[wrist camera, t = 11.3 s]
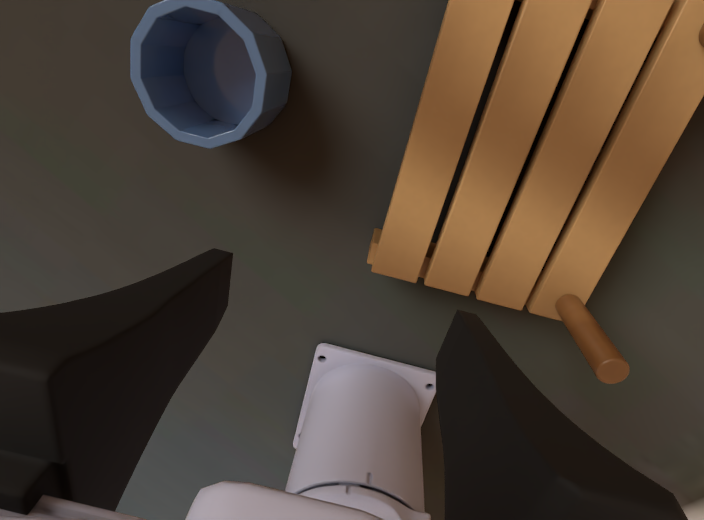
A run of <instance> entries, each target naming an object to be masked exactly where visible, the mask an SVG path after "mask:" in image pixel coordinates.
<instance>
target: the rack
mask: <svg viewBox="0 0 704 520" xmlns="http://www.w3.org/2000/svg"><path fill="white" fill-rule="evenodd" d="M517 1H520V2H522V3H521V5H520V8H519V11H518V14H517V17H516V19H515V22H514V25H513V28H512V31H511V34H510V36H509V39H508V42H507V45H506V48H505V50H504V53H503V56H502V59H501V62H500V65H499V67H498V70H497V73H496V76H495V79H494V81H493V84H492V87H491V90H490V93H489V96H488V98H487V101H486V104H485V107H484V110H483V112H482V115H481V118H480V121H479V124H478V127H477V129H476V132H475V135H474V138H473V141H472V143H471V146H470V149H469V152H468V155H467V158H466V160H465V163H464V166H463V169H462V172H461V174H460V177H459V180H458V183H457V186H456V189H455V191H454V194H453V197H452V200H451V203H450V205H449V208H448V211H447V214H446V217H445V220H444V222H443V225H442V228H441V231H440V234H439V236H438V239H437V242H436V243H432V242H431V239H432V236H433V233H434V230H435V227H436V225H437V222H438V219H439V216H440V213H441V210H442V207H443V204H444V202H445V199H446V196H447V193H448V190H449V187H450V184H451V181H452V179H453V176H454V173H455V170H456V167H457V164H458V161H459V158H460V156H461V153H462V150H463V147H464V144H465V141H466V138H467V135H468V133H469V130H470V127H471V124H472V121H473V118H474V115H475V112H476V110H477V107H478V104H479V101H480V98H481V95H482V92H483V89H484V87H485V84H486V81H487V78H488V75H489V72H490V69H491V66H492V64H493V61H494V58H495V55H496V52H497V49H498V46H499V43H500V41H501V38H502V35H503V32H504V29H505V26H506V23H507V20H508V18H509V15H510V12H511V9H512V6H513V3H514V0H449V1H448V4H447V7H446V11H445V14H444V18H443V21H442V25H441V28H440V32H439V35H438V39H437V42H436V46H435V49H434V53H433V56H432V60H431V63H430V66H429V70H428V73H427V77H426V80H425V84H424V87H423V91H422V94H421V98H420V101H419V105H418V108H417V112H416V115H415V118H414V122H413V125H412V129H411V132H410V136H409V139H408V143H407V146H406V150H405V153H404V157H403V160H402V164H401V167H400V171H399V174H398V177H397V181H396V184H395V188H394V191H393V195H392V198H391V202H390V205H389V209H388V212H387V216H386V219H385V223H384V226H383V230H382V229H378V228H375V229H374V232H373V236H372V240H371V243H370V247H369V253H368V259H367V263H368V264H372V272H374V273H378V274H382V275H386V276H390V277H394V278H397V279H401V280H405V281H409V282H413V283H416V282H417V279H418V277H422V278H424V284H425V285H426V286H429V287H433V288H437V289H441V290H445V291H449V292H452V293H456V294H460V295H464V296H469V294H470V292H471V290H472V291H475V294H476V298H477V299H478V300H482V301H486V302H489V303H493V304H497V305H501V306H505V307H509V308H512V309H516V310H520V311H521V310H522V308H523V306H524V304H526V306H527V308H528V310H529V312H530V313H532V314H536V315H540V316H543V317H547V318H551V319H555V320H559V321H563V323H564V324H565V326H566V328H567V329H568V331H569V332H570V334H571V336H572V337H573V339H574V341H575V342H576V344H577V346H578V347H579V349H580V350H581V352H582V354H583V355H584V357H585V359H586V360H587V362H588V364H589V365H590V367H591V368H592V370H593V372H594V373H595V375H596V377H597V378H598V379H599V380H600V381H602V382H604V383H608V384H614V383H618V382H621V381H622V380H624V379H625V378H626V377H627V376H628V374H629V371H630V368H629V365H628V363H627V362H626V360H625V359H624V358H623V356H622V355H621V354H620V352H619V351H618V350H617V348H616V347H615V345H614V344H613V343H612V341H611V340H610V339H609V337H608V336H607V335H606V333H605V332H604V331H603V329H602V328H601V327H600V325H599V324H598V322H597V321H596V320H595V318H594V317H593V316H592V314H591V313H590V312H589V310H588V309H587V308H586V306H585V304H586V302H587V300H588V299H589V297H590V295H591V293H592V292H593V290H594V288H595V286H596V284H597V283H598V281H599V279H600V277H601V276H602V274H603V272H604V270H605V269H606V267H607V265H608V263H609V262H610V260H611V258H612V256H613V255H614V253H615V251H616V249H617V247H618V246H619V244H620V242H621V240H622V239H623V237H624V235H625V233H626V232H627V230H628V228H629V226H630V225H631V223H632V221H633V219H634V217H635V216H636V214H637V212H638V210H639V209H640V207H641V205H642V203H643V202H644V200H645V198H646V196H647V195H648V193H649V191H650V189H651V188H652V186H653V184H654V182H655V180H656V179H657V177H658V175H659V173H660V172H661V170H662V168H663V166H664V165H665V163H666V161H667V159H668V158H669V156H670V154H671V152H672V150H673V149H674V147H675V145H676V143H677V142H678V140H679V138H680V136H681V135H682V133H683V131H684V129H685V128H686V126H687V124H688V122H689V121H690V119H691V117H692V115H693V113H694V112H695V110H696V108H697V106H698V105H699V103H700V101H701V99H702V98H703V96H704V0H517ZM584 19H589V22H588V25H587V27H586V29H585V32H584V34H583V36H582V39H581V41H580V44H579V46H578V48H577V51H576V53H575V55H574V58H573V60H572V62H571V65H570V67H569V70H568V72H567V74H566V77H565V79H564V81H563V84H562V86H561V88H560V91H559V93H558V96H557V98H556V100H555V103H554V105H553V107H552V110H551V112H550V115H549V117H548V119H547V122H546V124H545V126H544V129H543V131H542V133H541V136H540V138H539V141H538V143H537V145H536V148H535V150H534V152H533V155H532V157H531V159H530V162H529V164H528V167H527V169H526V171H525V174H524V176H523V178H522V181H521V183H520V185H519V188H518V190H517V193H516V195H515V197H514V200H513V202H512V204H511V207H510V209H509V211H508V214H507V216H506V219H505V221H504V223H503V226H502V228H501V230H500V233H499V235H498V237H497V240H496V242H495V245H494V247H493V249H492V252H491V254H490V256H489V257H485V256H486V254H487V251H488V249H489V247H490V244H491V242H492V239H493V237H494V235H495V232H496V230H497V227H498V225H499V223H500V220H501V218H502V215H503V213H504V211H505V208H506V206H507V203H508V201H509V199H510V196H511V194H512V191H513V189H514V187H515V184H516V182H517V180H518V177H519V175H520V172H521V170H522V168H523V165H524V163H525V160H526V158H527V156H528V153H529V151H530V148H531V146H532V144H533V141H534V139H535V136H536V134H537V132H538V129H539V127H540V125H541V122H542V120H543V117H544V115H545V113H546V110H547V108H548V105H549V103H550V101H551V98H552V96H553V93H554V91H555V89H556V86H557V84H558V81H559V79H560V77H561V74H562V72H563V70H564V67H565V65H566V62H567V60H568V58H569V55H570V53H571V50H572V48H573V46H574V43H575V41H576V38H577V36H578V34H579V31H580V29H581V26H582V24H583V22H584ZM656 37H657V40H656V42H655V44H654V46H653V48H652V50H651V52H650V54H649V56H648V58H647V60H646V62H645V64H644V66H643V68H642V70H641V72H640V74H639V76H638V78H637V80H636V83H635V85H634V87H633V89H632V91H631V93H630V95H629V97H628V99H627V101H626V103H625V105H624V107H623V109H622V111H621V113H620V115H619V117H618V119H617V121H616V123H615V125H614V127H613V129H612V131H611V133H610V135H609V137H608V139H607V141H606V143H605V145H604V147H603V149H602V151H601V153H600V155H599V157H598V160H597V162H596V164H595V166H594V168H593V170H592V172H591V174H590V176H589V178H588V180H587V182H586V184H585V186H584V188H583V190H582V192H581V194H580V196H579V198H578V200H577V202H576V204H575V206H574V208H573V210H572V212H571V214H570V216H569V218H568V220H567V222H566V224H565V226H564V228H563V230H562V232H561V234H560V237H559V239H558V241H557V243H556V245H555V247H554V249H553V251H552V253H551V255H550V257H549V259H548V261H547V263H546V265H545V267H544V269H543V271H541V270H542V268H543V266H544V264H545V262H546V260H547V258H548V255H549V253H550V251H551V249H552V247H553V245H554V243H555V241H556V239H557V237H558V235H559V233H560V231H561V229H562V227H563V225H564V223H565V221H566V219H567V217H568V215H569V213H570V211H571V209H572V207H573V205H574V203H575V201H576V199H577V196H578V194H579V192H580V190H581V188H582V186H583V184H584V182H585V180H586V178H587V176H588V174H589V172H590V170H591V168H592V166H593V164H594V162H595V160H596V158H597V156H598V154H599V152H600V150H601V148H602V146H603V144H604V142H605V140H606V138H607V135H608V133H609V131H610V129H611V127H612V125H613V123H614V121H615V119H616V117H617V115H618V113H619V111H620V109H621V107H622V105H623V103H624V101H625V99H626V97H627V95H628V93H629V91H630V89H631V87H632V85H633V83H634V81H635V79H636V76H637V74H638V72H639V70H640V68H641V66H642V64H643V62H644V60H645V58H646V56H647V54H648V52H649V50H650V48H651V46H652V44H653V42H654V40H655V38H656Z"/></svg>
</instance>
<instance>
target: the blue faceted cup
mask: <svg viewBox="0 0 704 520" xmlns="http://www.w3.org/2000/svg"><path fill="white" fill-rule="evenodd" d="M291 75H292V70H291V67H290V64H289V61H288V58H287V54H286V51H285V48H284V45H283V42H282V39H281V37H280V36H279V35H278V34H277V33H276V32H275V31H274V30H273V29H272V28H271V27H270V26H269V25H268V24H267V23H266V22H265V21H264V20H263V19H262V18H261V17H260V16H259V15H258V14H256V13H254V12H251V11H248V10H245V9H241V8H238V7H235V6H232V5H229V4H225V3H222V2H219V1H215V0H164V1H161V2H159V3H156V4H154V5H151V6H150V7H149V8H148V10H147V11H146V13H145V15H144V17H143V18H142V20H141V22H140V23H139V25H138V27H137V28H136V30H135V32H134V34H133V35H132V37H131V75H130V77H131V81H132V83H133V85H134V87H135V89H136V91H137V93H138V96H139V98H140V100H141V102H142V104H143V106H144V109H145V111H146V113H147V115H148V116H149V117H150V118H151V119H153V120H154V121H155V122H156V123H157V124H158V125H159V126H161V127H162V128H163V129H164V130H165V131H166V132H167V133H169V134H170V135H171V136H172V137H173V138H174V139H175V140H177V141H181V142H185V143H189V144H192V145H196V146H200V147H204V148H208V149H212V148H215V147H219V146H222V145H225V144H228V143H231V142H235V141H238V140H241V139H243V138H245V137H247V136H249V135H251V134H253V133H255V132H257V131H259V130H261V129H263V128H265V127H267V126H268V125H270V124H271V122H272V121H273V120H274V119H275V117H276V116H277V115H278V114H279V113H280V111H281V110H282V109H283V108H284V106H285V105H286V104H287V100H288V94H289V87H290V81H291Z"/></svg>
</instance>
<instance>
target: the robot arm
mask: <svg viewBox="0 0 704 520" xmlns="http://www.w3.org/2000/svg"><path fill="white" fill-rule="evenodd" d="M232 258H233V253H230V252H226V251H222V250H218V249H211V250H209V251H207V252H204V253H202V254H200V255H198V256H196V257H194V258H192V259H190V260H188V261H186V262H184V263H181V264H179V265H177V266H175V267H173V268H171V269H168V270H166V271H164V272H162V273H159V274H157V275H154V276H152V277H149V278H147V279H144V280H142V281H139V282H137V283H134V284H132V285H129V286H126V287H123V288H120V289H117V290H113V291H110V292H107V293H103V294H100V295H96V296H92V297H88V298H84V299H79V300H75V301H71V302H67V303H62V304H57V305H52V306H46V307H40V308H34V309H27V310H21V311H13V312H5V313H0V520H147V519H143V518H139V517H135V516H130V515H126V514H122V513H118V512H115V510H116V508H117V505H118V503H119V501H120V499H121V497H122V494H123V492H124V490H125V488H126V486H127V484H128V482H129V480H130V478H131V476H132V474H133V472H134V469H135V467H136V465H137V463H138V461H139V459H140V457H141V455H142V453H143V451H144V449H145V447H146V445H147V443H148V441H149V439H150V437H151V435H152V433H153V431H154V429H155V427H156V425H157V424H158V422H159V420H160V418H161V416H162V414H163V412H164V410H165V408H166V407H167V405H168V403H169V401H170V399H171V397H172V396H173V394H174V392H175V391H176V389H177V388H178V386H179V384H180V383H181V381H182V380H183V379H184V377H185V376H186V374H187V373H188V371H189V370H190V368H191V367H192V365H193V364H194V362H195V361H196V359H197V358H198V356H199V355H200V353H201V352H202V350H203V349H204V348H205V346H206V345H207V343H208V342H209V340H210V339H211V337H212V335H213V334H214V332H215V331H216V329H217V327H218V325H219V323H220V321H221V319H222V317H223V314H224V312H225V310H226V308H227V306H228V297H229V287H230V277H231V267H232ZM320 356H324V357H325V358H320ZM427 384H432V386H428V385H427ZM435 393H436V394H437V403H438V411H439V419H440V427H441V436H442V444H443V452H444V465H445V520H688V519H687V517H686V515H685V514H684V512H683V510H682V508H681V507H680V505H679V503H678V501H677V500H676V498H675V496H674V495H673V493H671V492H669V491H668V490H666V489H665V488H663V487H662V486H660V485H658V484H657V483H655V482H654V481H652V480H651V479H649V478H648V477H646V476H644V475H643V474H641V473H640V472H638V471H637V470H635V469H634V468H632V467H631V466H629V465H628V464H626V463H625V462H623V461H622V460H621V459H619V458H618V457H616V456H615V455H614V454H612V453H611V452H610V451H608V450H607V449H605V448H604V447H603V446H601V445H600V444H599V443H598V442H596V441H595V440H594V439H592V438H591V437H590V436H589V435H587V434H586V433H585V432H584V431H583V430H581V429H580V428H579V427H578V426H577V425H575V424H574V423H573V422H572V421H571V420H569V419H568V418H567V417H566V416H565V415H564V414H563V413H562V412H560V411H559V410H558V409H557V408H556V407H555V406H554V405H553V404H552V403H551V402H550V401H549V400H548V399H547V398H546V397H545V396H544V395H543V394H542V393H541V392H540V391H539V390H538V389H537V388H536V387H535V386H534V385H533V384H532V383H531V381H530V380H529V379H528V378H527V377H526V376H525V375H524V374H523V372H522V371H521V370H520V369H519V368H518V367H517V365H516V364H515V363H514V362H513V361H512V359H511V358H510V357H509V356H508V354H507V353H506V352H505V351H504V349H503V348H502V347H501V346H500V344H499V343H498V342H497V340H496V339H495V338H494V336H493V335H492V334H491V332H490V331H489V330H488V329H487V327H486V326H485V325H484V323H483V322H482V321H481V320H480V318H479V317H478V316H477V315H476V314H472V313H468V312H464V311H460V310H457V312H456V314H455V316H454V319H453V321H452V323H451V326H450V328H449V330H448V332H447V335H446V337H445V339H444V342H443V344H442V346H441V349H440V351H439V353H438V355H437V358H436V372H435V371H431V370H427V369H423V368H420V367H416V366H412V365H408V364H404V363H400V362H397V361H393V360H389V359H385V358H381V357H377V356H373V355H370V354H366V353H362V352H358V351H354V350H350V349H346V348H343V347H339V346H335V345H331V344H327V343H321V344H319V345H318V346H317V348H316V352H315V356H314V360H313V364H312V368H311V372H310V376H309V381H308V385H307V389H306V393H305V397H304V401H303V405H302V409H301V413H300V417H299V421H298V425H297V429H296V433H295V437H294V441H293V446H294V448H296V453H295V456H294V460H293V464H292V467H291V471H290V475H289V478H288V482H287V486H286V489H285V491H282V490H278V489H274V488H270V487H266V486H262V485H257V484H253V483H249V482H237V481H222V482H220V483H217V484H214V485H211V486H208V487H205V488H202V489H200V491H199V493H198V495H197V496H196V498H195V500H194V501H193V503H192V505H191V508H190V510H189V512H188V514H187V517H186V519H185V520H431V515H430V514H429V513H425V508H424V488H423V467H422V447H421V426H422V424H423V421H424V419H425V417H426V414H427V412H428V410H429V407H430V405H431V403H432V400H433V398H434V396H435Z"/></svg>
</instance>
